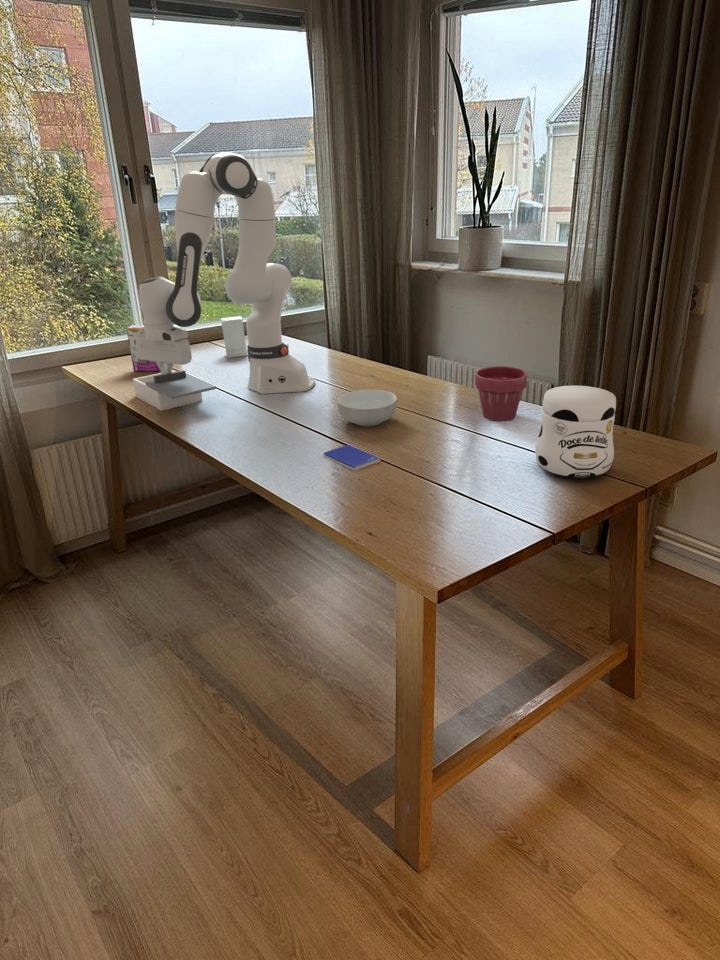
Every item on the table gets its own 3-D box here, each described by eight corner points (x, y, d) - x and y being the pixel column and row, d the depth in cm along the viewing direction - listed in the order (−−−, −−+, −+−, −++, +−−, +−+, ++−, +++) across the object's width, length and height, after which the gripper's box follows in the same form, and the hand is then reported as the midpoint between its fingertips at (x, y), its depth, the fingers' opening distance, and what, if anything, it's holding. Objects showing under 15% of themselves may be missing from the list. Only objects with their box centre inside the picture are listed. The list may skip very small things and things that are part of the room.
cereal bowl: (330, 417, 196) (329, 393, 193) (383, 408, 201) (383, 386, 198) (350, 436, 181) (349, 411, 178) (406, 426, 187) (406, 402, 184)
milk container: (579, 492, 146) (588, 413, 138) (518, 467, 159) (523, 394, 151) (627, 471, 155) (638, 396, 147) (565, 449, 168) (572, 379, 160)
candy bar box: (133, 372, 249) (125, 328, 242) (138, 368, 254) (131, 325, 247) (162, 372, 248) (155, 327, 241) (167, 368, 252) (160, 324, 246)
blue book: (380, 457, 165) (348, 444, 174) (354, 466, 160) (323, 452, 169) (380, 463, 165) (349, 449, 174) (354, 472, 161) (323, 458, 170)
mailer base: (135, 396, 221) (132, 378, 219) (175, 387, 229) (172, 370, 226) (161, 410, 207) (157, 392, 204) (202, 400, 214) (199, 382, 212)
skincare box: (246, 352, 270) (242, 315, 264) (247, 356, 265) (243, 318, 258) (225, 354, 268) (220, 317, 262) (225, 358, 263) (221, 320, 257)
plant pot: (463, 416, 193) (464, 372, 187) (495, 404, 201) (497, 362, 195) (502, 428, 182) (505, 382, 177) (534, 416, 191) (538, 372, 185)
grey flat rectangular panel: (145, 384, 211) (144, 376, 209) (187, 375, 218) (185, 367, 217) (173, 399, 196) (171, 389, 195) (216, 388, 204) (215, 379, 203)
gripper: (127, 331, 210) (135, 374, 216) (177, 336, 201) (184, 381, 206) (142, 327, 215) (150, 369, 221) (191, 331, 206) (197, 375, 211)
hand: (166, 375), depth 213 cm, fingers closed
